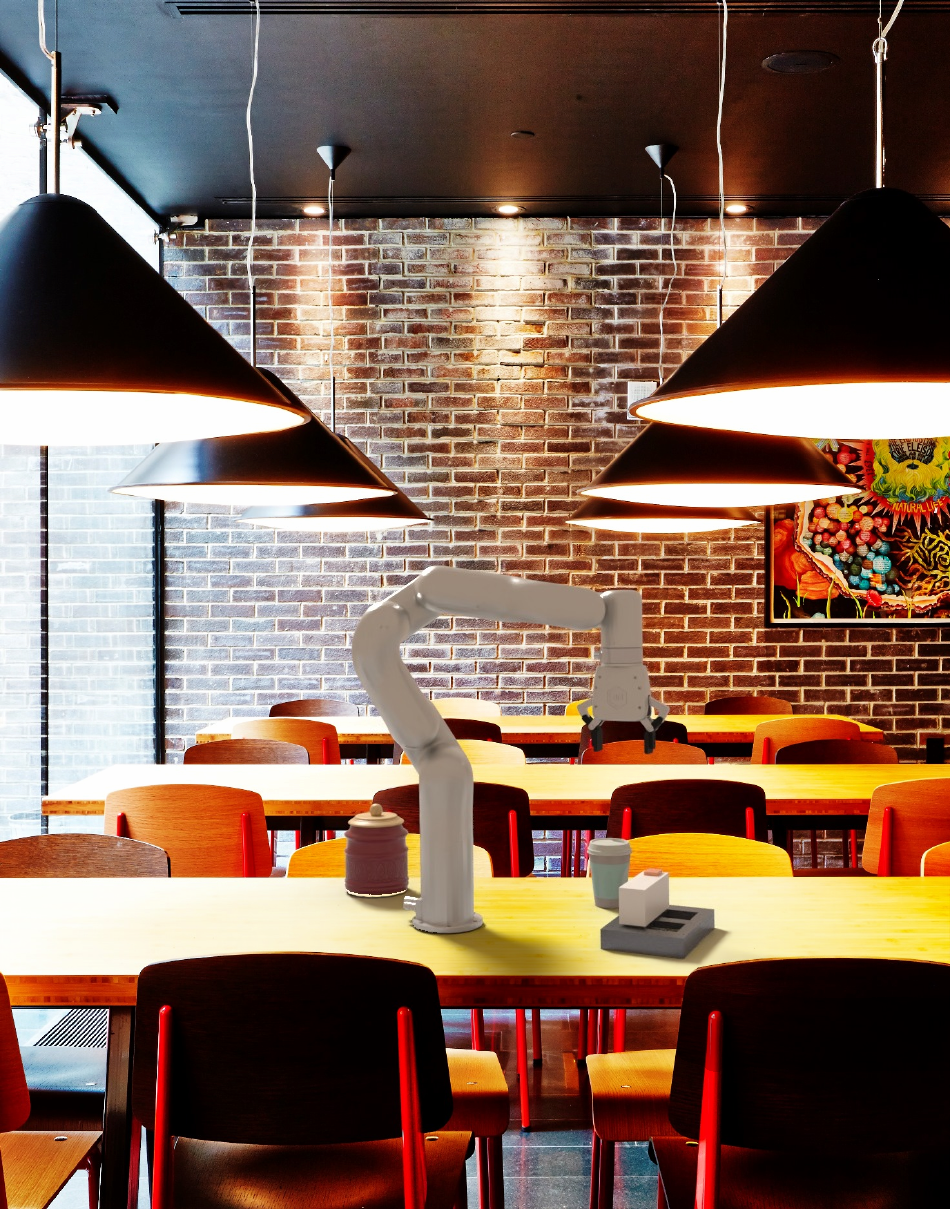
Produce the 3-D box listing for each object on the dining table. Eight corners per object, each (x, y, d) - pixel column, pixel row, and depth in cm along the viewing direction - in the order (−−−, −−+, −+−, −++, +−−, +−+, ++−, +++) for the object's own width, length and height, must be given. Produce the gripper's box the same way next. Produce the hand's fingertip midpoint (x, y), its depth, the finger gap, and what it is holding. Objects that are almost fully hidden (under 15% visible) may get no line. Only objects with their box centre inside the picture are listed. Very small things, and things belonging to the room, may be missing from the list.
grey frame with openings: (600, 948, 183) (600, 929, 183) (637, 919, 201) (637, 901, 201) (683, 958, 177) (683, 938, 177) (714, 927, 195) (714, 909, 195)
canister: (414, 884, 230) (413, 799, 231) (401, 899, 217) (400, 809, 218) (353, 883, 232) (353, 798, 233) (337, 898, 219) (336, 808, 220)
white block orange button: (619, 945, 184) (618, 884, 185) (644, 924, 197) (644, 867, 197) (645, 948, 182) (644, 886, 183) (669, 927, 195) (668, 869, 195)
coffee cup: (631, 911, 206) (630, 846, 207) (585, 909, 208) (584, 845, 208) (634, 900, 215) (633, 838, 215) (590, 898, 216) (589, 836, 217)
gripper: (569, 658, 202) (571, 752, 202) (662, 658, 194) (663, 756, 194) (584, 657, 209) (585, 748, 208) (674, 657, 201) (675, 752, 201)
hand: (623, 752), depth 201 cm, fingers open, 9 cm apart
